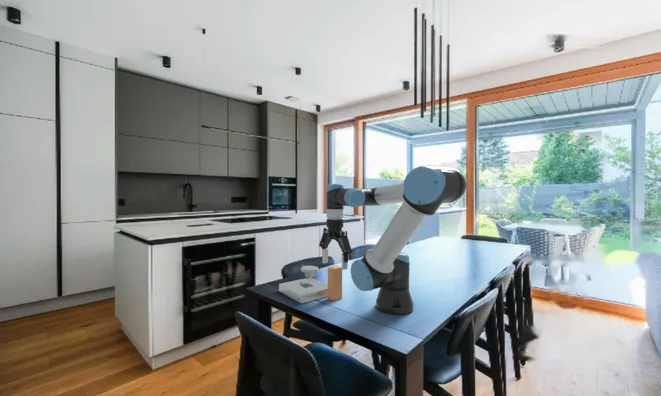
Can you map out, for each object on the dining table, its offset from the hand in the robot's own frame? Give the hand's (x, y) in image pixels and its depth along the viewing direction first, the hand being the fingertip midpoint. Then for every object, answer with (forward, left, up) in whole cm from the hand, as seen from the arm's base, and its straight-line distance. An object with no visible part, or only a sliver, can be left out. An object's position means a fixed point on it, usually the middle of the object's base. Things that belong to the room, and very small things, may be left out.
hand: (334, 266), depth 133 cm
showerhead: (+31, -7, -15) cm, 35 cm away
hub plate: (+14, +6, -15) cm, 21 cm away
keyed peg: (0, 0, -15) cm, 15 cm away
